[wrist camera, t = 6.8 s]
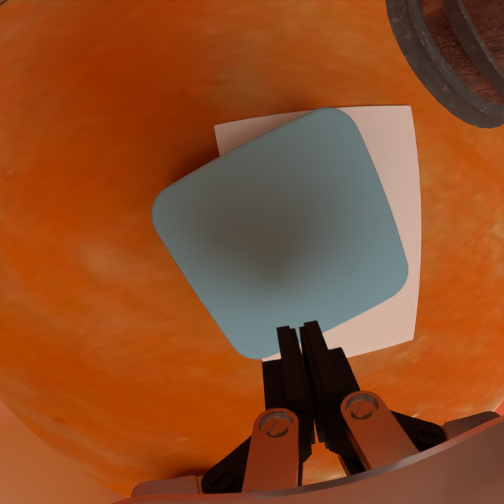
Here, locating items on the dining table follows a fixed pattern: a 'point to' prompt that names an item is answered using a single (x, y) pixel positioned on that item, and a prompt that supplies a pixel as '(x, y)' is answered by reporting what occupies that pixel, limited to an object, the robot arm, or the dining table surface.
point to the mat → (401, 203)
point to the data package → (285, 232)
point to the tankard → (455, 53)
